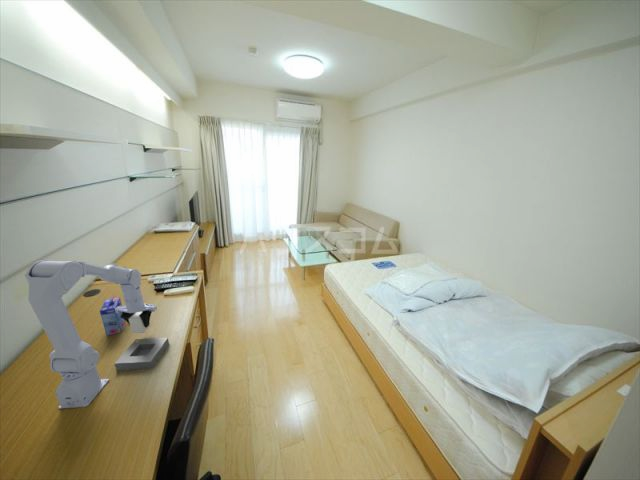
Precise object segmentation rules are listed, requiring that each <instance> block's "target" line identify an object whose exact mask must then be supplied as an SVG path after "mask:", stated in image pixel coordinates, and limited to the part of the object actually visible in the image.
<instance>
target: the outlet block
mask: <svg viewBox="0 0 640 480" xmlns="http://www.w3.org/2000/svg"><path fill="white" fill-rule="evenodd" d="M169 345H170V342H169V338H168V337H157V338H137V339H136V338H135V340H134V341H133V342H132V343H131V344H130V345H129V346H128V348H127V349H126V350H125V351H124V352H123V353H122V354H121V356H120V357H119V358H118V359H117V360H116V361H115V362H114V367H115V369H116V371H122V370H123V371H124V370H126V371H127V370H142V369H145V370H146V369H153V368H154V366H156V364H157V362H159V360H160V358H161V356H162V355H163V354H164V352H165V351H166V349H167V348H168V346H169Z"/></svg>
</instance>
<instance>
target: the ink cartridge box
mask: <svg viewBox="0 0 640 480" xmlns="http://www.w3.org/2000/svg"><path fill="white" fill-rule="evenodd" d="M121 300H122V299H121V297H115V296H112V298H108V299H105V300H104V302H103V304H102V307H101V308H100V310H99V314H100V318H101V321H102V324H103V327H104V332H105V336H109V335H115V334H119V333H122V332H123V328H124V326H125V323H126V321H125V320H124V319H123V318H121V315H122V312H119V313H116V312H115V308H117V307H118V306H123V304H122V301H121Z"/></svg>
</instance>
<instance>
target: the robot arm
mask: <svg viewBox="0 0 640 480" xmlns="http://www.w3.org/2000/svg"><path fill="white" fill-rule="evenodd" d="M86 275H87V276H91V277H92V276H93V277H98V278H99V279H100V280H101V281H103V282H108V283H109V282H110V283H115V284H116V285H120V289H121V293H122V297H123V302H124V304H125V305H122V306H118V307H117V308H115V312H116V313H119V312H122V315H121V318H123V319H124V320H125V322H127V324H128V325H129V326H130V323H129V320H128V319H129V318H130V317H131V316H132V315H133V314H134V313H136V312H142V313H141V314H140V315H139V317H140V318H141V319H142V321H143V324H144V327H148V326H149V323H150V324H151V322H150V321H151V315H152V313H155V312H156V311H157V309H158V308H157V304H149V303H145V301H144V297H143V293H142V290H141V289H142V288H141V284H142V282H141V280H142V279H141V278H142V273H141V272H140V271H139V270H138V269H135V268H134V269H133V268H131V269H130V268H128V267H126V266H118V264H117V263H110V264H107V265H104V266H101V265H97V264H94V263H93V264H92V263H90V262H86V261H78V260H77V261H76V260H70V261H68V260H67V261H65V260H64V261H63V260H47V259H41V260H37V261H35V262H34V263H32V264H31V265H30V267H29V268H28V270H27V271H26V273H25V274H24V277H25V279H26V282H27V283H28V302H29V304H30V306H31V308H32V310H33V312H34V313H35V315H36V318H37V319H38V321H39V323H40V325H41V327H42V328H43V330H44V332H45V334H46V336H47V338H48V340H49V342H50V344H51V345H52V347H53V349H54V350H52V351H51V352H50V354H49V355H48V358H49V359H50V363H49V368H50V370H51V372H54V373H59V376H61V377H62V378H61V381H60V384H59V385H58V386H57V388H55V391H54V394H55V396H56V398H57V401H58V403H59V405H58V409H72V408H73V409H74V408H86V407H87V406H89V405H90V404H91V403H92V402H93V400H94V399H95V398H96V396H97V395H98V394H99V393H100V391H102V389H103V388H105V386H106V385H107V383H108V382H109V378H101V377H100V374H99V372H98V368H97V365H98V363H99V360H100V353H99V352H98V351H97V350H95V349H94V348H93V346H92V345H91V344H90V343H87V342H86V341H84V340H82V339H81V337H80V334H79V332H78V330H77V328H76V325H75V324H74V322H73V320H72V317H71V315H70V313H69V311H68V310H67V306H66V305H65V303H64V301H63V298H62V297H63V296H64V295H66V294H67V293H69V291H70V290H71V289H72V288H73V287H74V286H75V285H76V284H77V283H78V282H79V281H80V280H81V279H82V278H85V276H86Z"/></svg>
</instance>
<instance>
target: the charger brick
mask: <svg viewBox="0 0 640 480" xmlns="http://www.w3.org/2000/svg"><path fill="white" fill-rule="evenodd" d="M141 313H142V311H141V312H136V313H134V314H133V315H132V316H131V317H130V318H129V319H128V320H129V323H130V325H129V326H130V331H131V333H132V334H144V333H146V331H147V330H148V329H149V328H150V327H151V322H150V323H149V326H148V327H144V324H143V321H142V319H141V318H140V317H139V315H140V314H141Z"/></svg>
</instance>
